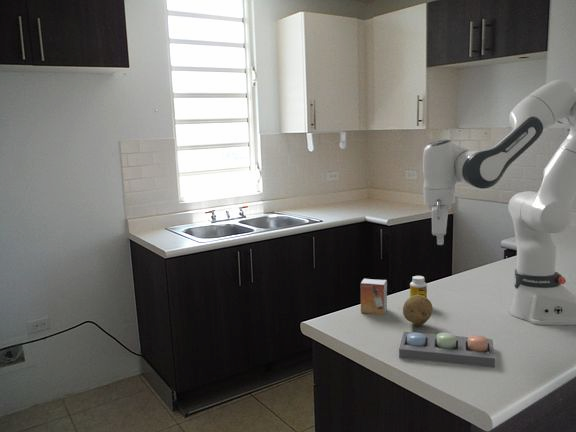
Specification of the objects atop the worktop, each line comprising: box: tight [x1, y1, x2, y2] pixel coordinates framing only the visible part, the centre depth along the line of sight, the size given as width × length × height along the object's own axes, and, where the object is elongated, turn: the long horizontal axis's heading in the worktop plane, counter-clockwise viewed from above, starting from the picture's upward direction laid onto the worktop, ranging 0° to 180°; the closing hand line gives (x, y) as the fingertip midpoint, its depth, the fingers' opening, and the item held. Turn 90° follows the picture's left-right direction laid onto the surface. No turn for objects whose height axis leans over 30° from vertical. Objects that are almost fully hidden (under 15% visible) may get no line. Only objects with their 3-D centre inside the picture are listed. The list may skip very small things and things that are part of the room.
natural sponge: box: [402, 295, 434, 327], centre depth 156 cm, size 9×9×10 cm
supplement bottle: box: [409, 275, 428, 299], centre depth 173 cm, size 6×6×10 cm
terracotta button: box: [467, 334, 489, 353], centre depth 135 cm, size 5×5×3 cm
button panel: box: [398, 331, 496, 368], centre depth 138 cm, size 24×12×2 cm, turn 71°
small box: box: [360, 278, 388, 316], centre depth 170 cm, size 8×6×10 cm
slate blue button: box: [406, 332, 426, 347], centre depth 140 cm, size 5×5×3 cm
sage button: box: [436, 332, 457, 350], centre depth 137 cm, size 5×5×3 cm
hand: (440, 243), depth 149 cm, fingers closed
